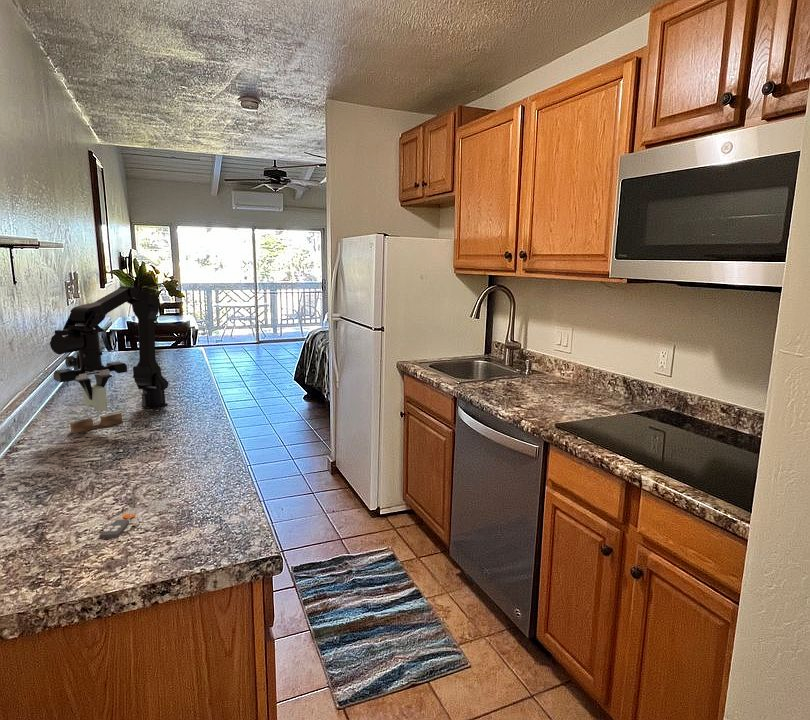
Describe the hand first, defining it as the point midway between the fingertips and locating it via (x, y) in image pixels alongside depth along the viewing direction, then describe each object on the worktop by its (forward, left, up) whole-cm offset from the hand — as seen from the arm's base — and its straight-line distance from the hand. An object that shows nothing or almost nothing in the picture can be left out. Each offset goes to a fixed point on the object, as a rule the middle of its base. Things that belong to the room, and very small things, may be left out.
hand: (94, 398), depth 159 cm
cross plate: (0, 0, -3) cm, 3 cm away
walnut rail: (0, 0, -9) cm, 9 cm away
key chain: (+22, +67, -10) cm, 72 cm away
